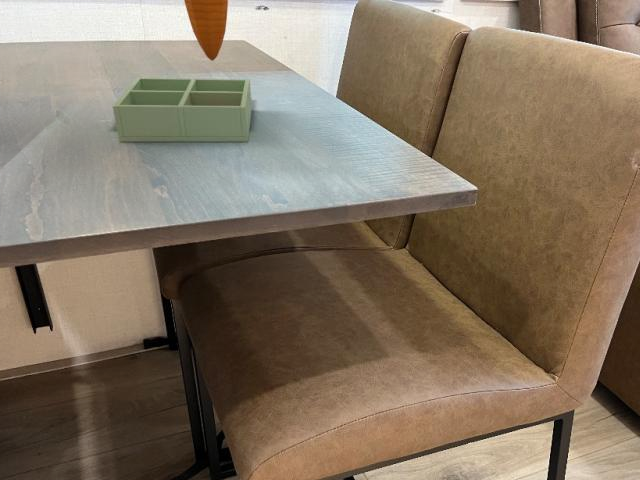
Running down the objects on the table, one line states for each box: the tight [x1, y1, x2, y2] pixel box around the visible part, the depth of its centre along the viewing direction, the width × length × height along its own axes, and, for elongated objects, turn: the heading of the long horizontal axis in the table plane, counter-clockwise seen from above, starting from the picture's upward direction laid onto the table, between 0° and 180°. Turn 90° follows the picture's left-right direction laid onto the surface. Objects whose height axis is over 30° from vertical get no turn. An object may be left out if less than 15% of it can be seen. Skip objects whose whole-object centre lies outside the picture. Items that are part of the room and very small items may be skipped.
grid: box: [112, 77, 253, 143], centre depth 80 cm, size 15×15×4 cm
